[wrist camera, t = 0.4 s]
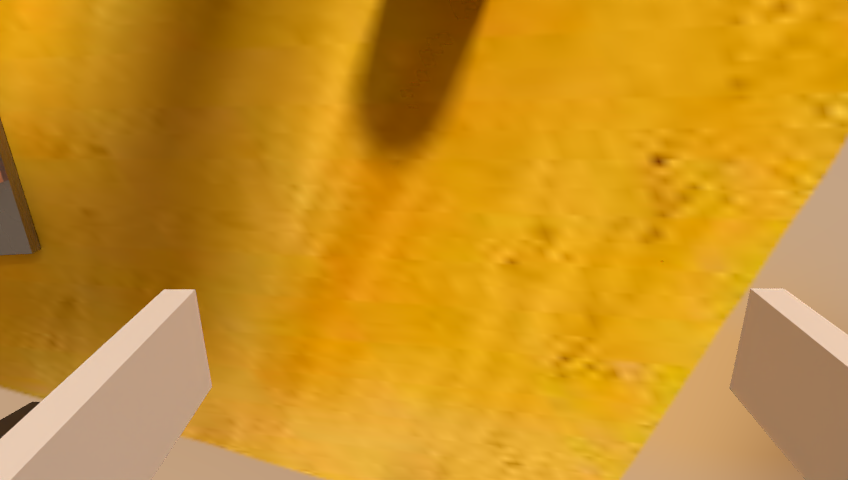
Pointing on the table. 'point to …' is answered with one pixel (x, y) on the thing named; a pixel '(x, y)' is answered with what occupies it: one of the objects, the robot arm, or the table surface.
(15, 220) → the rail
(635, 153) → the table surface
